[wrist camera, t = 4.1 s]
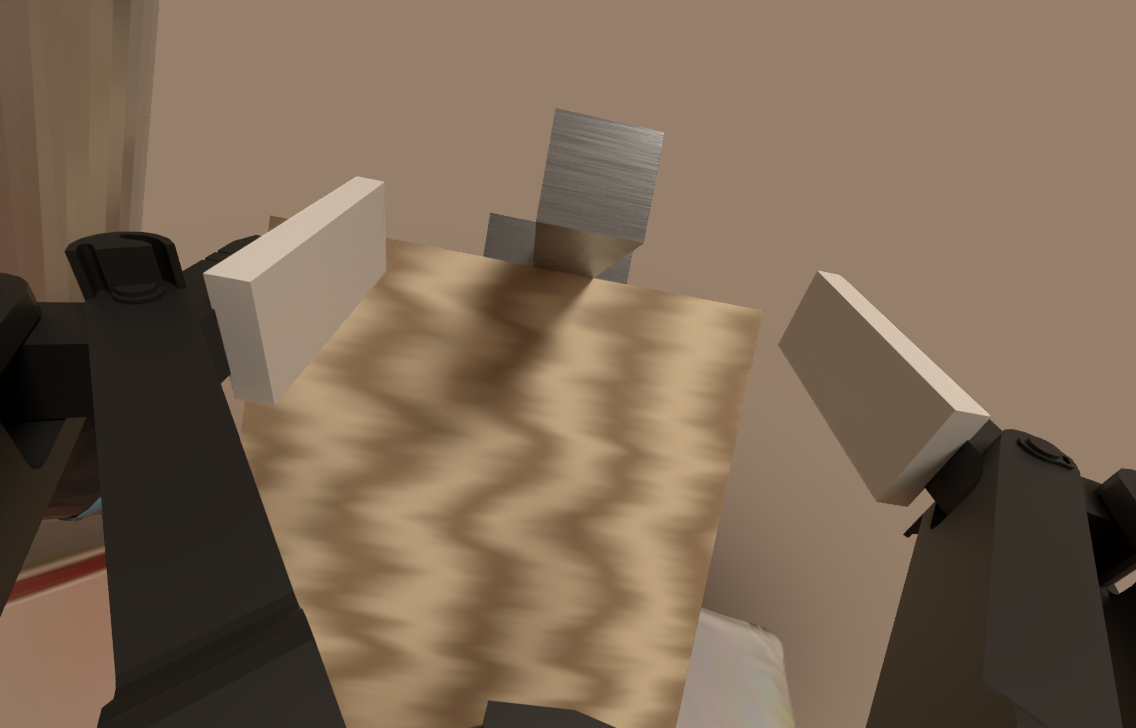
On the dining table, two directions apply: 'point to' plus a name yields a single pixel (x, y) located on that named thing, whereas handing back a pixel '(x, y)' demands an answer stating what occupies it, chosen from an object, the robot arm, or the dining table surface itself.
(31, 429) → the robot arm
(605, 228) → the t handle
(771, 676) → the dining table surface
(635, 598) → the zigzag patterned box
